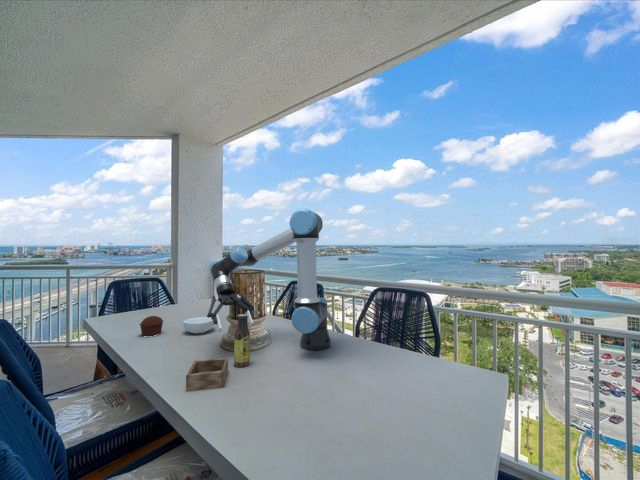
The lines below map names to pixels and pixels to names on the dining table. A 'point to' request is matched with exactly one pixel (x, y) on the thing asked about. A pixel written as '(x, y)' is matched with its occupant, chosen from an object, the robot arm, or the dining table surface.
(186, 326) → the cereal bowl
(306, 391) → the dining table surface
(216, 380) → the wooden open tray
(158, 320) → the muffin
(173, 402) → the dining table surface
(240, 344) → the sauce bottle
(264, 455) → the dining table surface
